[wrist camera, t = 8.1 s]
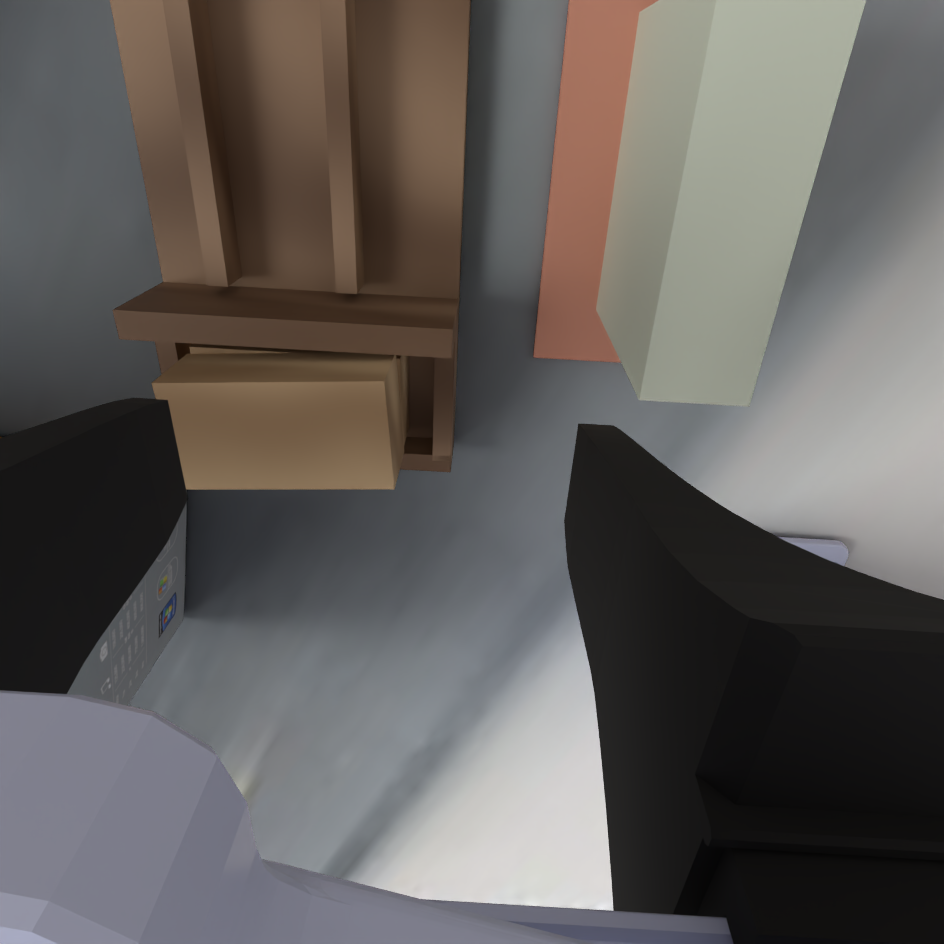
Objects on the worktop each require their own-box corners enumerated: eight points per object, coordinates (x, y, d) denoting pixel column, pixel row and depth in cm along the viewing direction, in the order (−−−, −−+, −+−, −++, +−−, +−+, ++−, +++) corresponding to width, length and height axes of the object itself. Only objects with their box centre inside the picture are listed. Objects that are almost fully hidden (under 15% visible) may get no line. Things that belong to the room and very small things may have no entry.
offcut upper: (404, 451, 20) (394, 489, 18) (212, 452, 20) (181, 489, 18) (396, 351, 18) (384, 381, 16) (187, 353, 18) (151, 383, 17)
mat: (715, 364, 21) (718, 367, 21) (533, 354, 21) (533, 357, 21) (822, -64, 16) (828, -66, 15) (576, -78, 16) (577, -80, 15)
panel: (673, 313, 20) (749, 406, 14) (596, 309, 20) (639, 400, 14) (734, 17, 16) (874, -31, 10) (639, 12, 16) (724, -40, 10)
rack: (453, 443, 23) (446, 501, 20) (202, 429, 23) (153, 484, 20) (475, -110, 15) (469, -167, 12) (101, -131, 15) (-5, -192, 12)
